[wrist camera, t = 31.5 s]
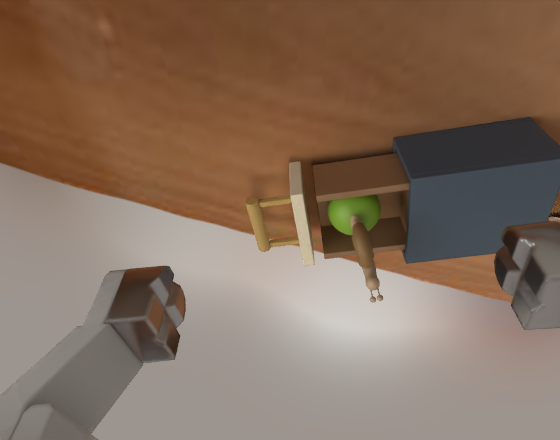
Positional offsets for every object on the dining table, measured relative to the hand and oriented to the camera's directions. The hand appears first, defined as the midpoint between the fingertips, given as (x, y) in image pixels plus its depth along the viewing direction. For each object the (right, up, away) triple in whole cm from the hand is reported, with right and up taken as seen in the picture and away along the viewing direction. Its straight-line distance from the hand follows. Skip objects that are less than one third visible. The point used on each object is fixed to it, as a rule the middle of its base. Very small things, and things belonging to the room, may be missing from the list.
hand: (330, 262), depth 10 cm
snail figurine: (+7, +4, +33) cm, 34 cm away
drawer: (+4, +4, +34) cm, 35 cm away
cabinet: (+18, +6, +33) cm, 38 cm away
